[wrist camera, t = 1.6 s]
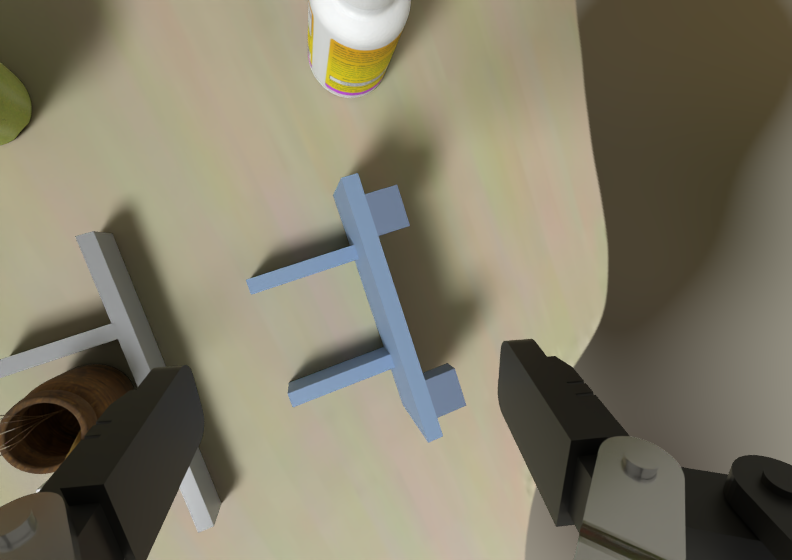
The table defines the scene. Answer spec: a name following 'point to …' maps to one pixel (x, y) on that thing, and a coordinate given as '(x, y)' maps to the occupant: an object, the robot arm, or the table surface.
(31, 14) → the table surface
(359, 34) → the supplement bottle
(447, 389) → the blue rail with prongs
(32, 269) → the table surface
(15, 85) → the plant pot
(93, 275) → the grey rail with prongs
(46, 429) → the utensil holder
